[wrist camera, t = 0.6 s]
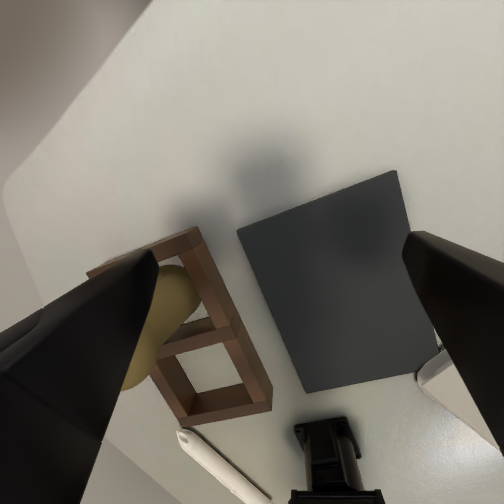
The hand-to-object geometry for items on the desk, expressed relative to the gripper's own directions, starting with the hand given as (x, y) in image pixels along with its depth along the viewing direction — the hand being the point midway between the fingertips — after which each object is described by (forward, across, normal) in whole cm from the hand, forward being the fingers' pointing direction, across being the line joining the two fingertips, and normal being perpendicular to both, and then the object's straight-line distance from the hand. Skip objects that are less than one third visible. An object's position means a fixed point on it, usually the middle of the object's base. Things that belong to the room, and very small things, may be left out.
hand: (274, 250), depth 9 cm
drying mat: (+10, -6, +14) cm, 18 cm away
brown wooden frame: (+9, +9, +17) cm, 22 cm away
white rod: (+2, +8, +38) cm, 39 cm away
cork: (+11, +11, +13) cm, 20 cm away
